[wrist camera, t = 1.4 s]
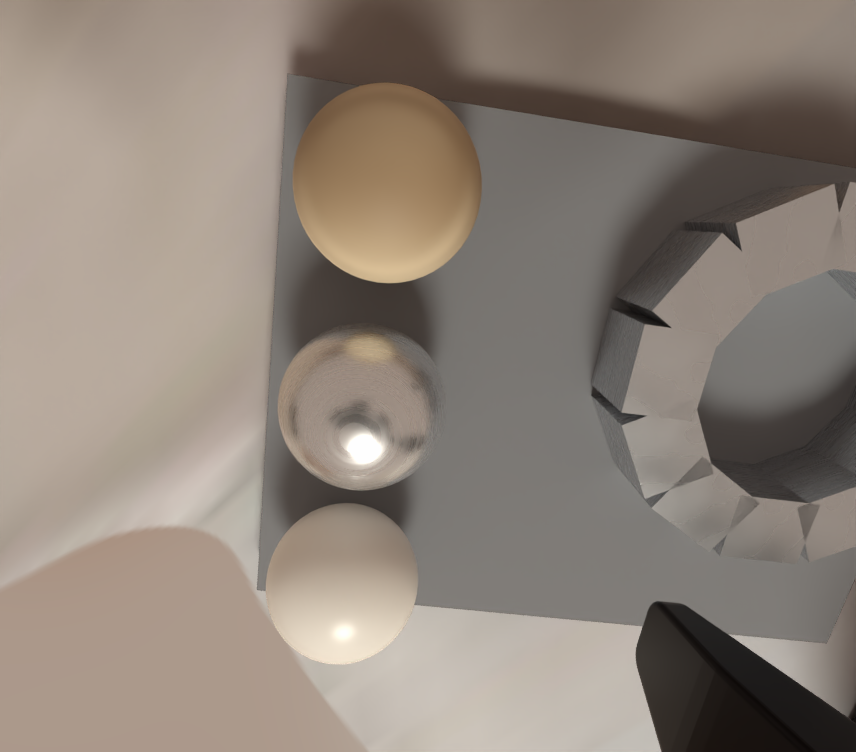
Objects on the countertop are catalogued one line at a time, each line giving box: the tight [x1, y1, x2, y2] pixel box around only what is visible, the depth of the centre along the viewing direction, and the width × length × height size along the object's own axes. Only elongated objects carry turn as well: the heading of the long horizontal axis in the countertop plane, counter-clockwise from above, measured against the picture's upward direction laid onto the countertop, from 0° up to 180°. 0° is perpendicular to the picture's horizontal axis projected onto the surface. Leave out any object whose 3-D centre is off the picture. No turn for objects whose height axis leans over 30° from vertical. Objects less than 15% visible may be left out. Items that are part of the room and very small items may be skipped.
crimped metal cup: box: [591, 182, 856, 564], centre depth 15 cm, size 10×10×2 cm
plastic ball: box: [266, 503, 418, 664], centre depth 16 cm, size 4×4×4 cm
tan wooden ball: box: [293, 82, 482, 283], centre depth 13 cm, size 4×4×4 cm
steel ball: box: [278, 323, 446, 491], centre depth 14 cm, size 4×4×4 cm
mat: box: [257, 74, 856, 643], centre depth 17 cm, size 16×21×1 cm
